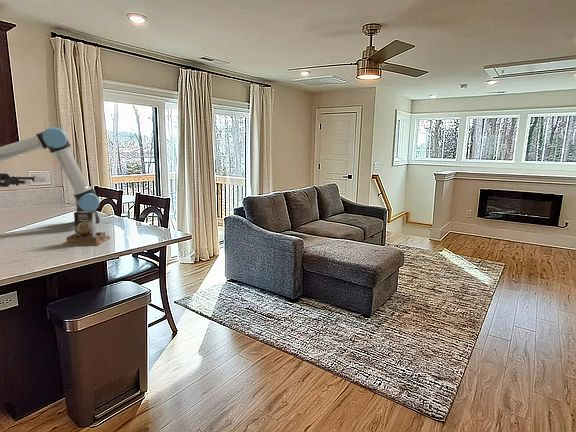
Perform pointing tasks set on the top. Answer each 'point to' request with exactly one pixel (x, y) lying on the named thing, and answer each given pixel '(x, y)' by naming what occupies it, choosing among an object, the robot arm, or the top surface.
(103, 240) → the socket bay
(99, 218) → the robot arm
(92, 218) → the coffee box
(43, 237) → the top surface
